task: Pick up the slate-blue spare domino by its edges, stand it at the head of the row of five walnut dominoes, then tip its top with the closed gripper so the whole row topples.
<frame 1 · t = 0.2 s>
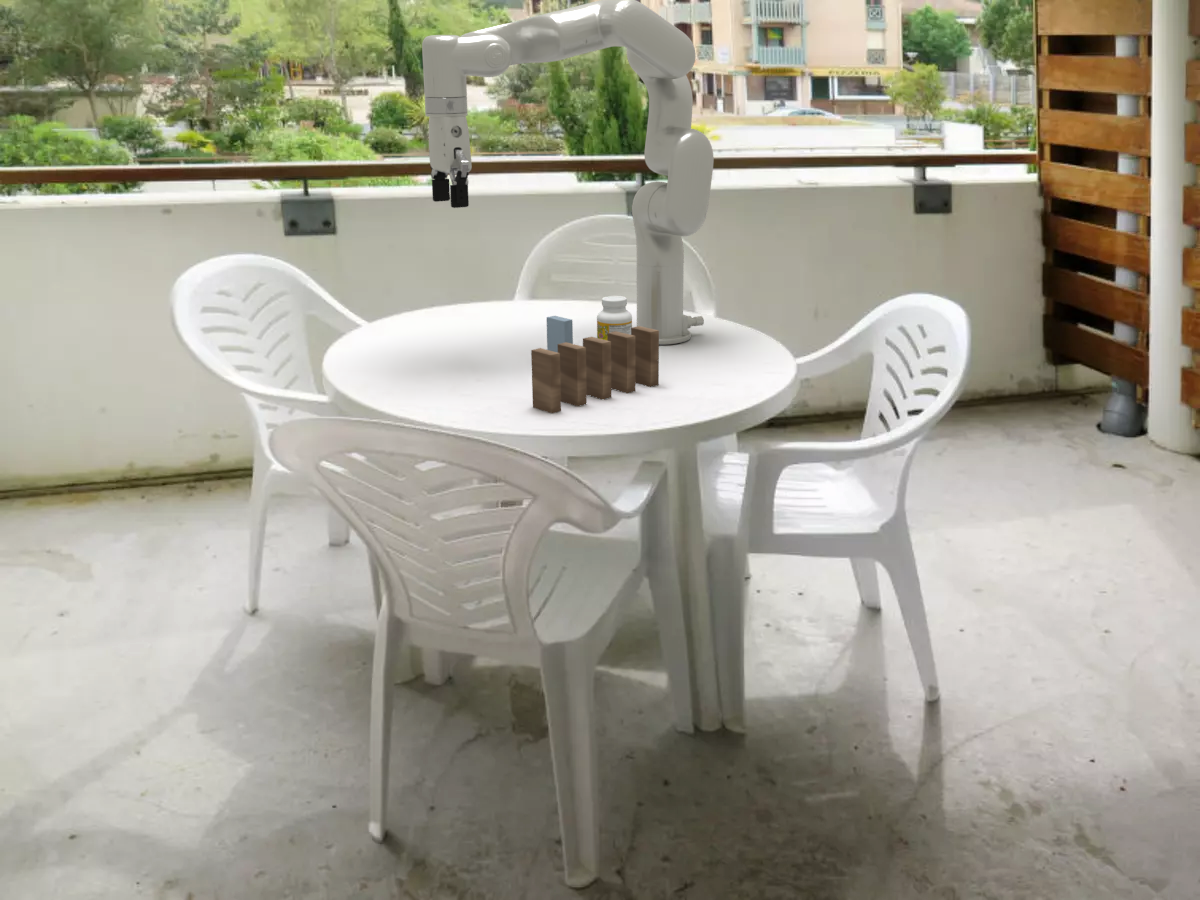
hand: (450, 204, 237), 31 cm above the table, tool pointing down, fingers open, 9 cm apart
supplement bottle: (614, 365, 247), on the table
domino 1: (644, 383, 234), on the table
domino 5: (546, 409, 219), on the table
domino 4: (572, 402, 223), on the table
spare domino: (560, 370, 243), on the table
domino 3: (597, 395, 226), on the table
domino 2: (621, 389, 230), on the table
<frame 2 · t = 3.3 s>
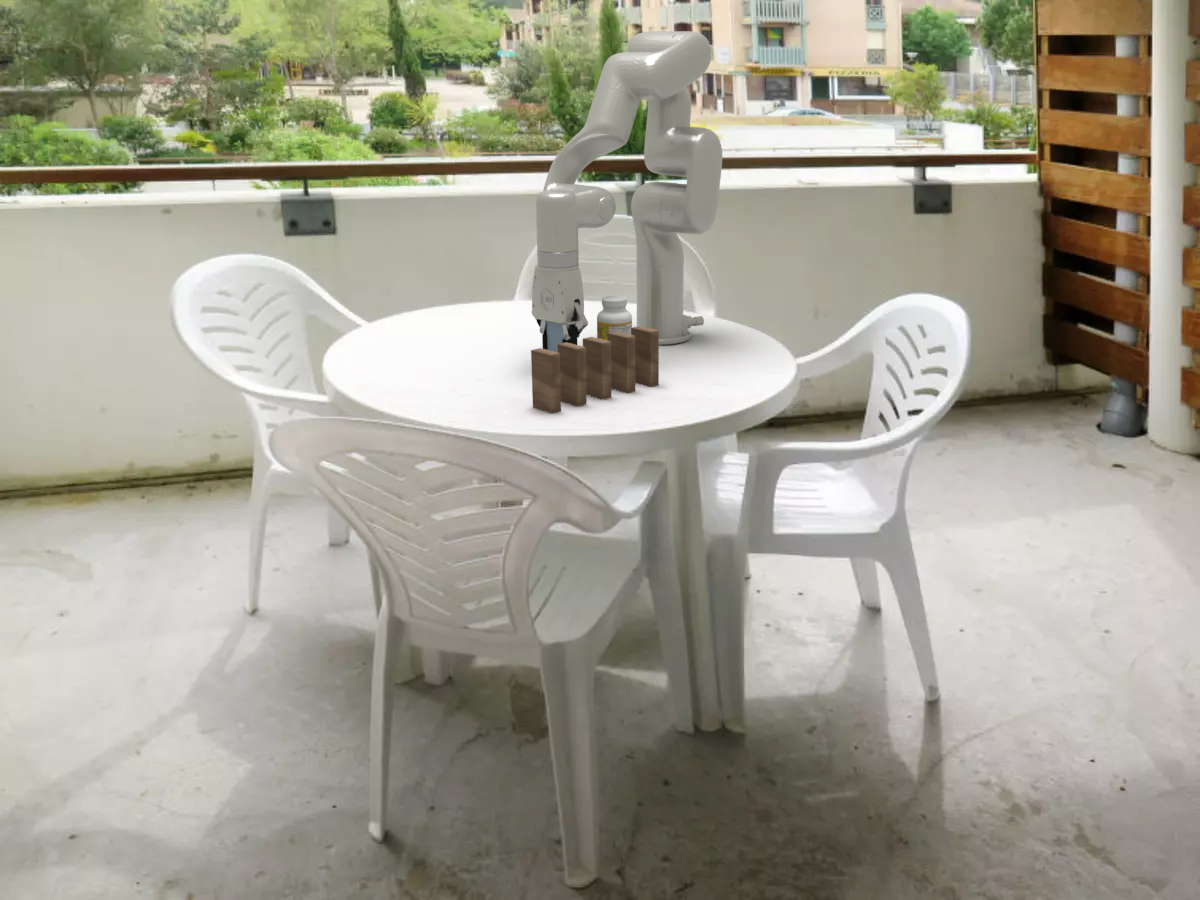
hand: (560, 355, 242), 3 cm above the table, tool pointing down, fingers closed on spare domino, 4 cm apart
spare domino: (560, 370, 243), on the table, touching gripper
everything else where it was.
when the fingers open (4 cm above the table, at t = 8.8 s): spare domino stays where it is, on the table.
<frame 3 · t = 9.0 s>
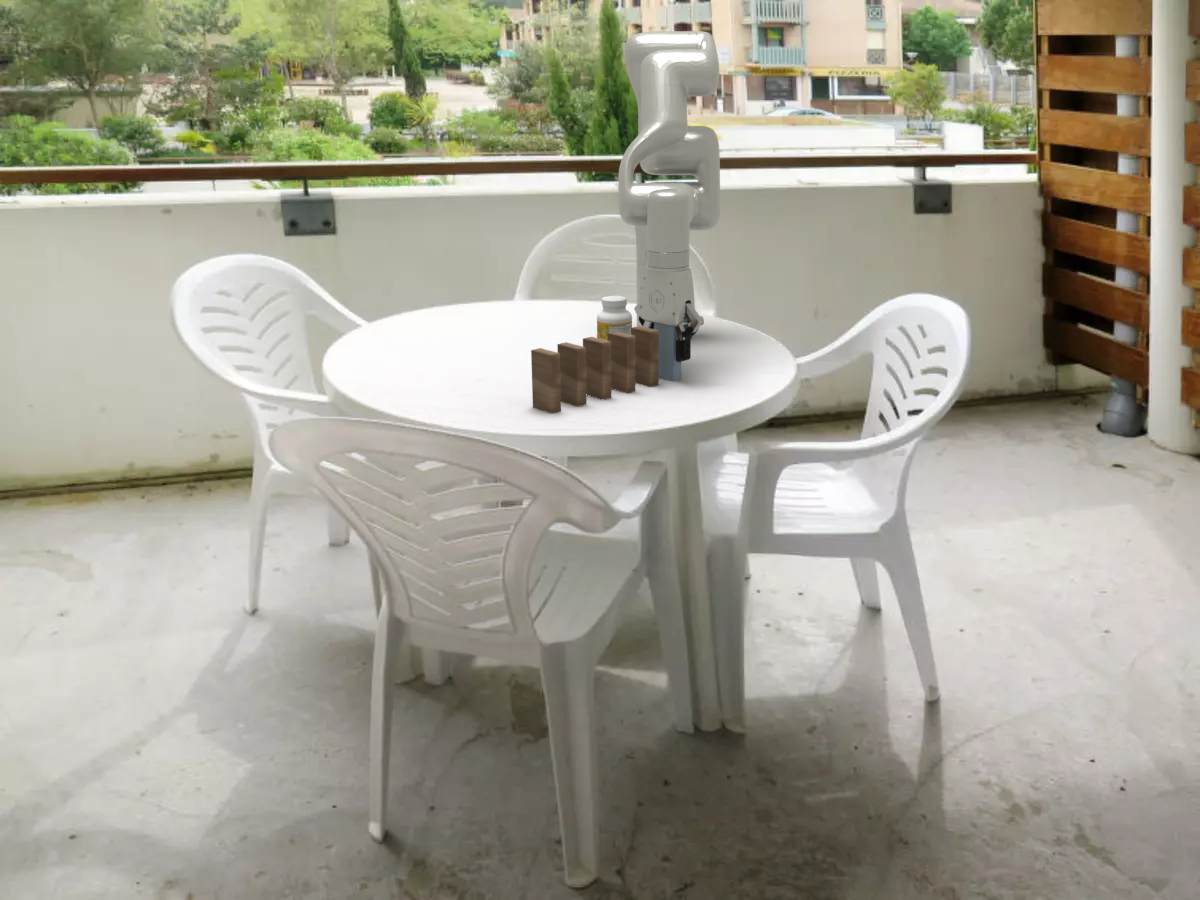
hand: (667, 355, 236), 4 cm above the table, tool pointing down, fingers open, 7 cm apart
spare domino: (667, 377, 238), on the table
everything else where it was.
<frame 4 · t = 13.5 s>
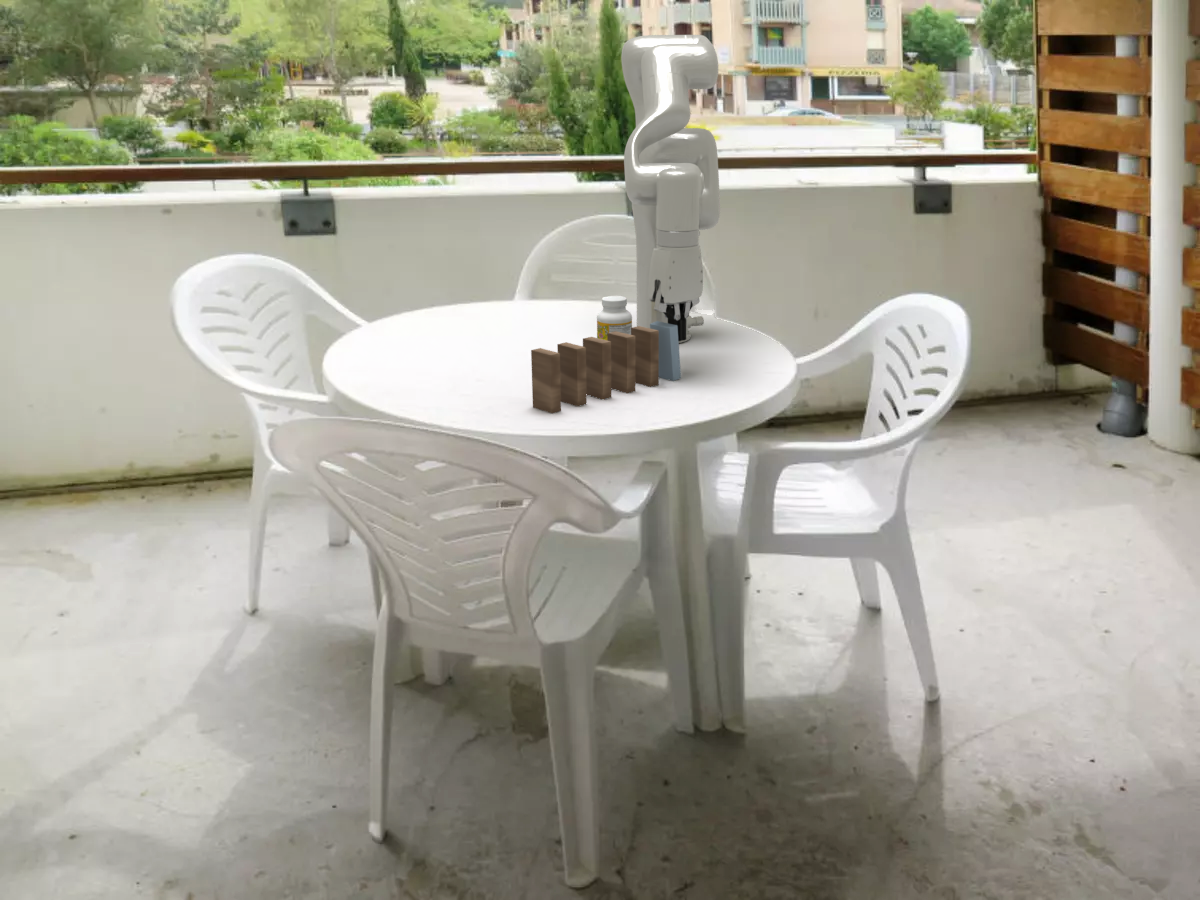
hand: (676, 339, 237), 7 cm above the table, tool pointing down, fingers closed
spare domino: (667, 376, 237), on the table, tilted 6°
everything else where it was.
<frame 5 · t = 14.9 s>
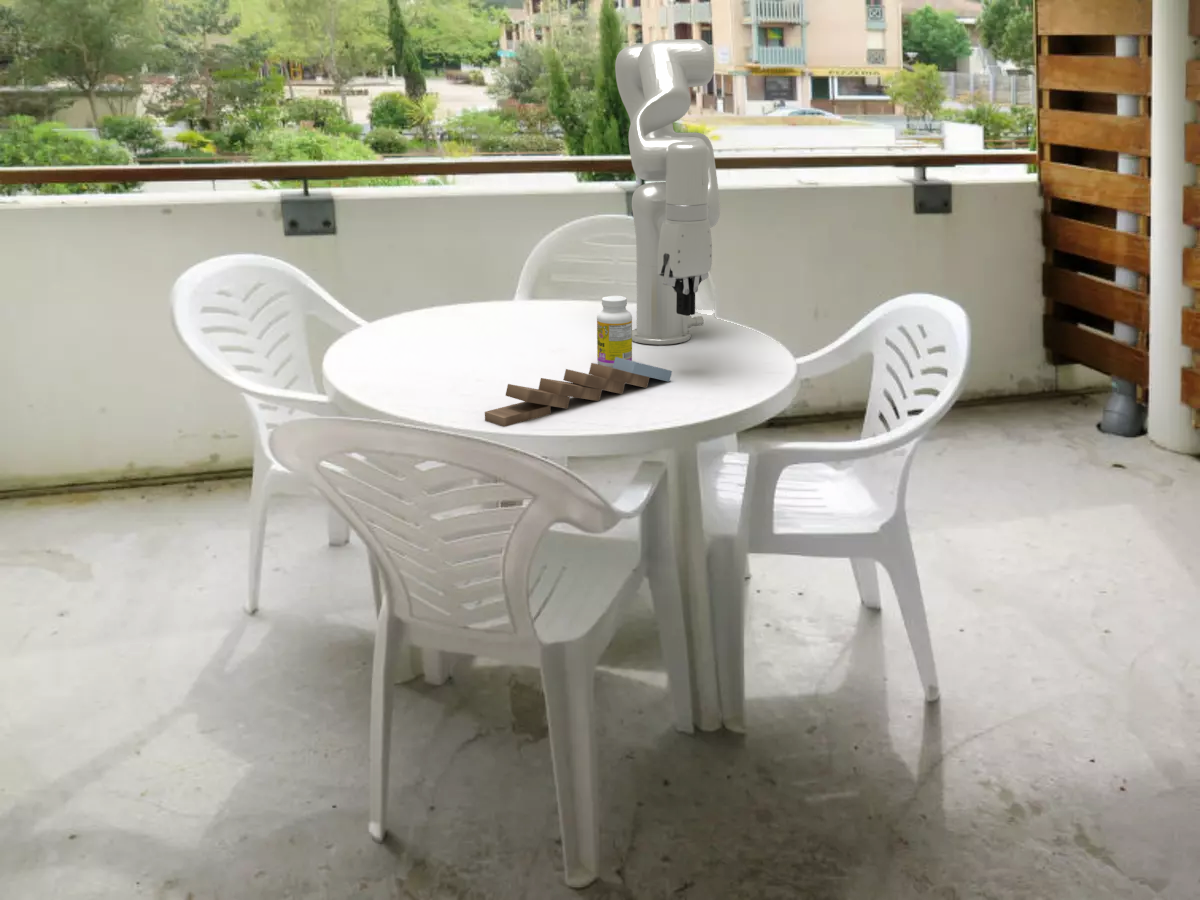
hand: (685, 313, 237), 11 cm above the table, tool pointing down, fingers closed
domino 1: (638, 379, 233), point 1 cm above the table, tilted 70°, touching domino 2, spare domino
domino 5: (540, 408, 218), on the table, tilted 90°, touching domino 4
domino 4: (558, 400, 220), point 1 cm above the table, tilted 71°, touching domino 3, domino 5
spare domino: (660, 373, 236), point 1 cm above the table, tilted 70°, touching domino 1
domino 3: (590, 392, 225), point 1 cm above the table, tilted 72°, touching domino 2, domino 4
domino 2: (613, 386, 229), point 1 cm above the table, tilted 70°, touching domino 1, domino 3
everything else where it was.
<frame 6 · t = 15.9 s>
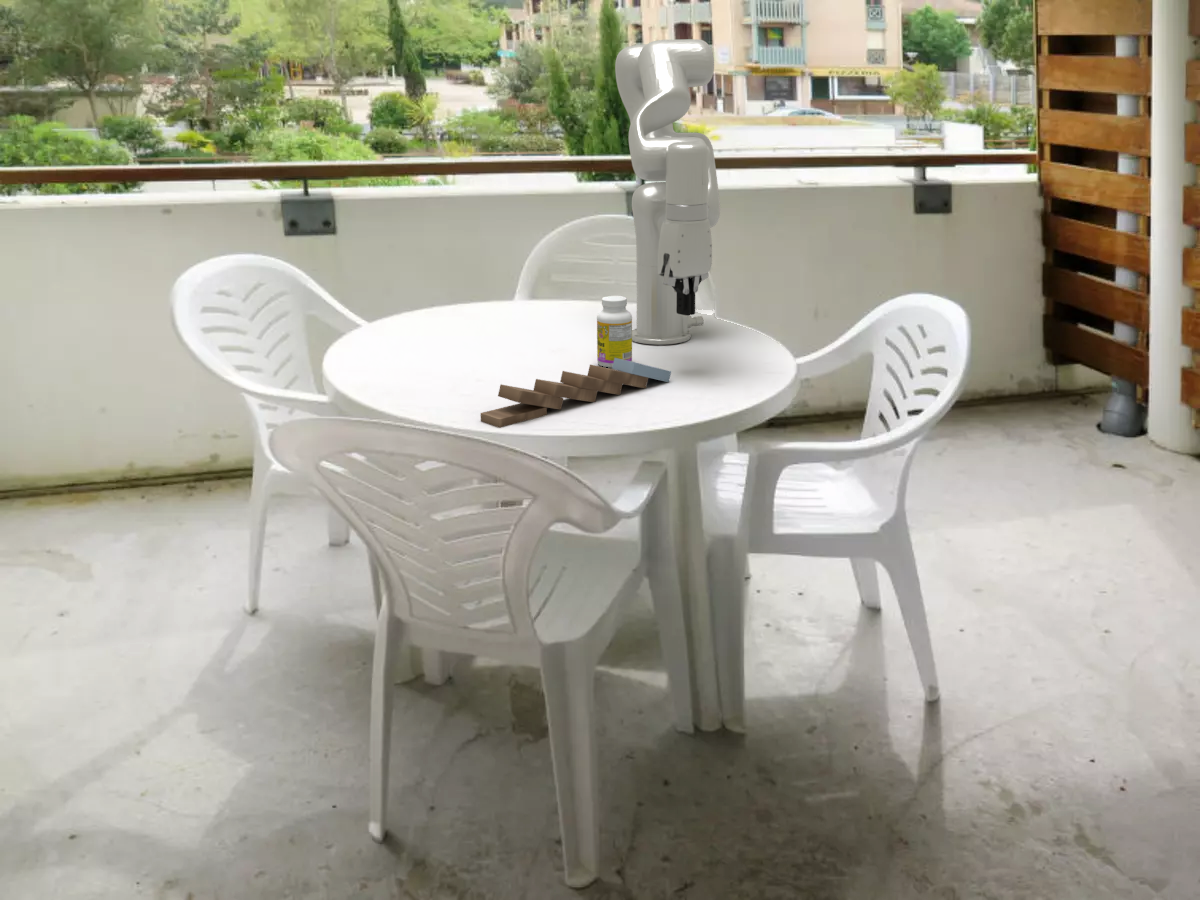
hand: (685, 313, 237), 11 cm above the table, tool pointing down, fingers closed
domino 5: (537, 410, 218), on the table, tilted 90°
domino 4: (552, 400, 219), point 1 cm above the table, tilted 71°, touching domino 3
domino 3: (586, 393, 224), point 1 cm above the table, tilted 72°, touching domino 4
domino 2: (611, 386, 228), point 1 cm above the table, tilted 71°, touching domino 1
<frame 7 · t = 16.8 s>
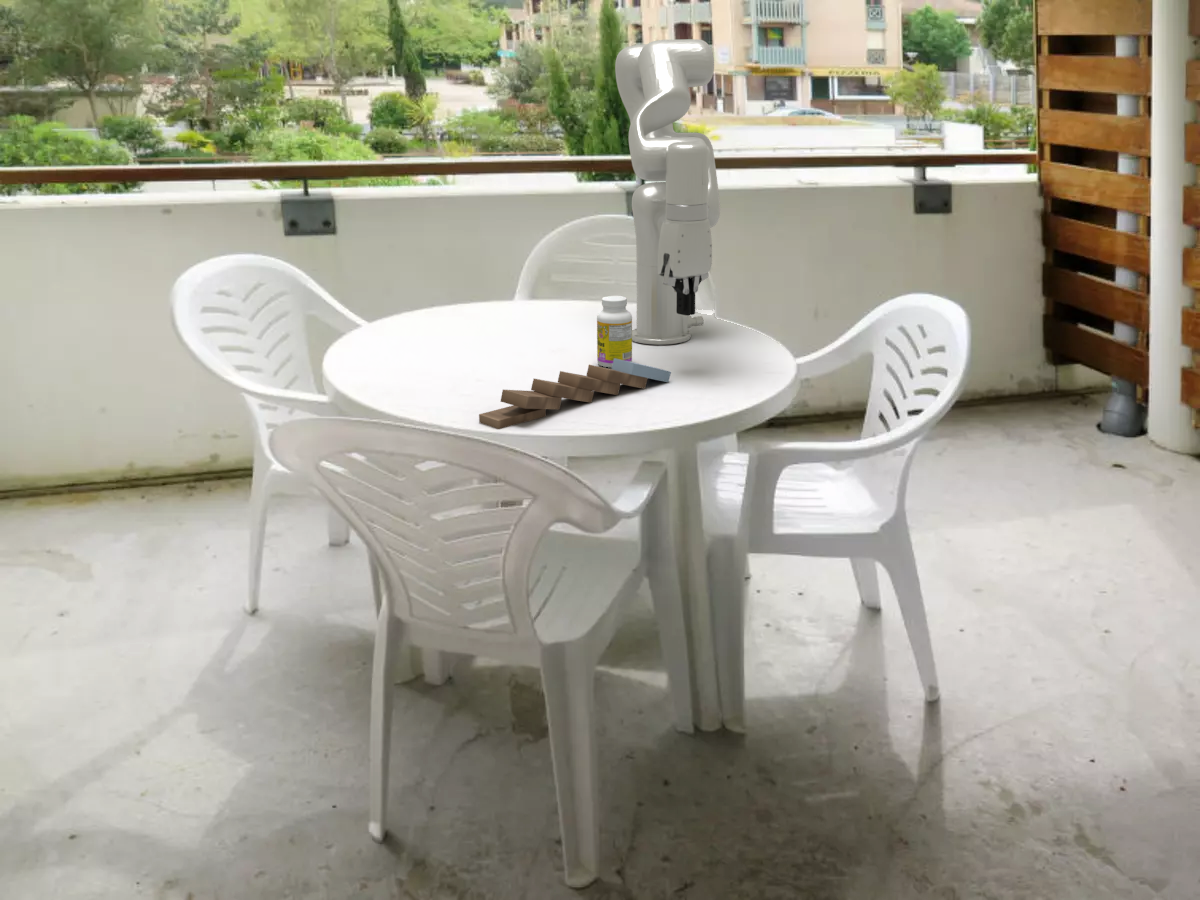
hand: (685, 313, 237), 11 cm above the table, tool pointing down, fingers closed
domino 1: (636, 380, 232), point 1 cm above the table, tilted 71°, touching spare domino
domino 5: (535, 410, 217), on the table, tilted 90°, touching domino 4
domino 4: (548, 400, 218), point 2 cm above the table, tilted 75°, touching domino 3, domino 5
domino 2: (609, 386, 228), point 1 cm above the table, tilted 72°
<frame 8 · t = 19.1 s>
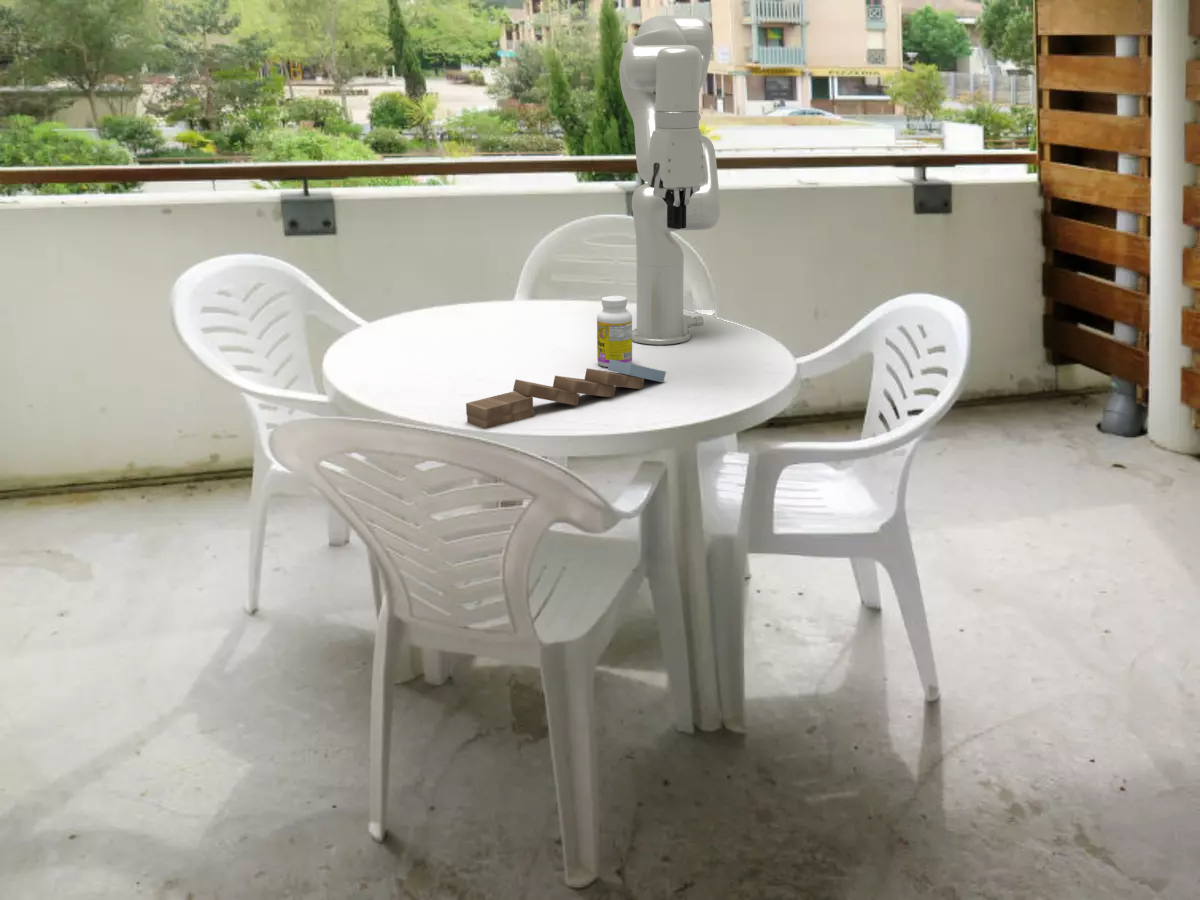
hand: (676, 227, 230), 27 cm above the table, tool pointing down, fingers closed
domino 1: (632, 381, 232), point 1 cm above the table, tilted 73°, touching domino 2, spare domino
domino 5: (525, 411, 217), on the table, tilted 90°, touching domino 4
domino 4: (523, 400, 216), point 2 cm above the table, tilted 90°, touching domino 3, domino 5
spare domino: (654, 374, 236), point 1 cm above the table, tilted 71°, touching domino 1
domino 3: (571, 397, 222), point 1 cm above the table, tilted 71°, touching domino 2, domino 4
domino 2: (604, 389, 227), point 1 cm above the table, tilted 73°, touching domino 1, domino 3
everything else where it was.
at the end: domino 5 tilted 90°; spare domino inside the target area (2.5 cm from its centre), point 0.9 cm above the table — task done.
